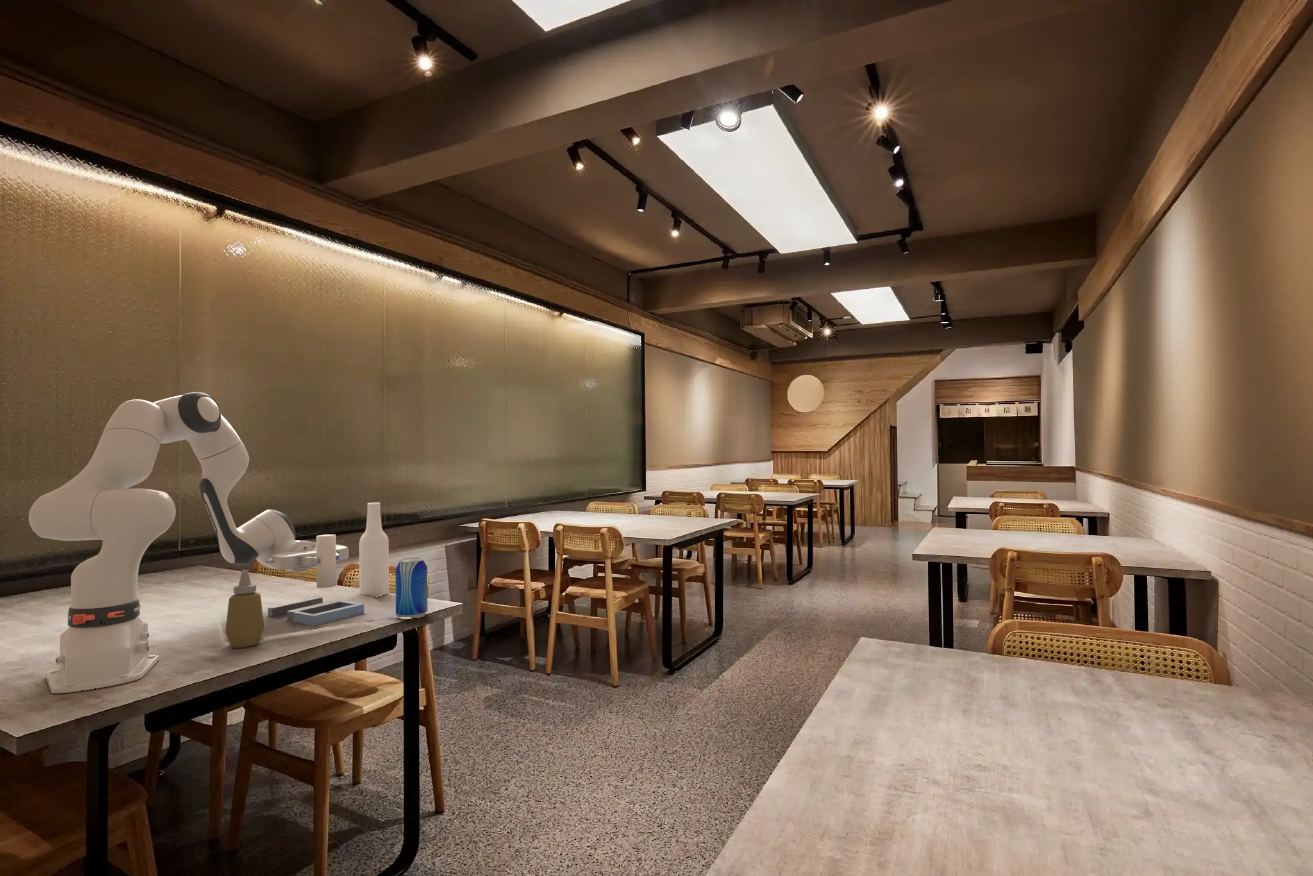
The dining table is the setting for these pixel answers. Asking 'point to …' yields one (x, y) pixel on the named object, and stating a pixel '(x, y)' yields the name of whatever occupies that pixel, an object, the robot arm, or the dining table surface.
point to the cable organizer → (316, 611)
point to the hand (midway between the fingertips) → (328, 559)
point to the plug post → (326, 561)
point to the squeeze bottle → (244, 614)
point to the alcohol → (374, 555)
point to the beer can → (411, 588)
